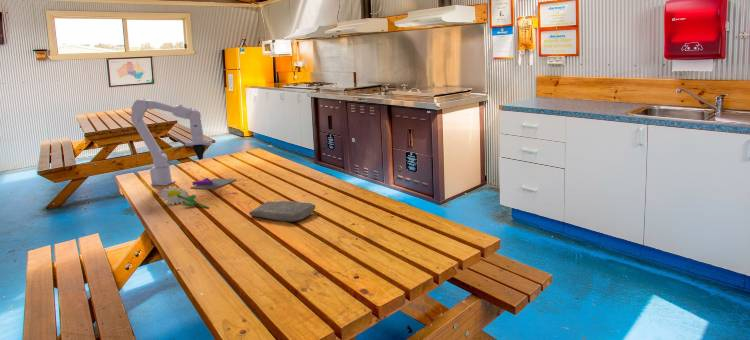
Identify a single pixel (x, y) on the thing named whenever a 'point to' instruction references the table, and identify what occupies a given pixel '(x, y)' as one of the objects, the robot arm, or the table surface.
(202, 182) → the arrowhead
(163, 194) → the decorative flower
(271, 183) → the table surface
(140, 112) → the robot arm
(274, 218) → the stone
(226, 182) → the mat
